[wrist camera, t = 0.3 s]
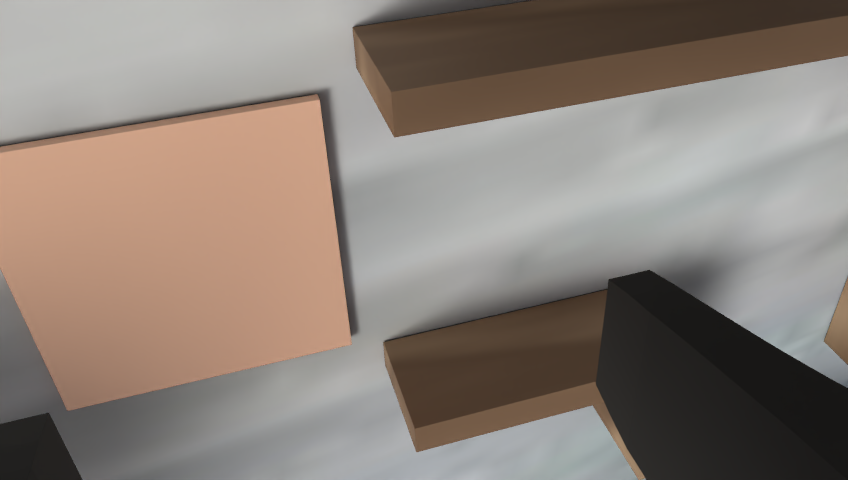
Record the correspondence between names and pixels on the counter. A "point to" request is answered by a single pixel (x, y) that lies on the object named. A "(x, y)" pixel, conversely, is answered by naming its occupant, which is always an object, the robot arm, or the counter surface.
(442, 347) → the channel
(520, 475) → the counter surface
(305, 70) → the counter surface
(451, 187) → the counter surface
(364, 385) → the counter surface
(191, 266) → the tile
